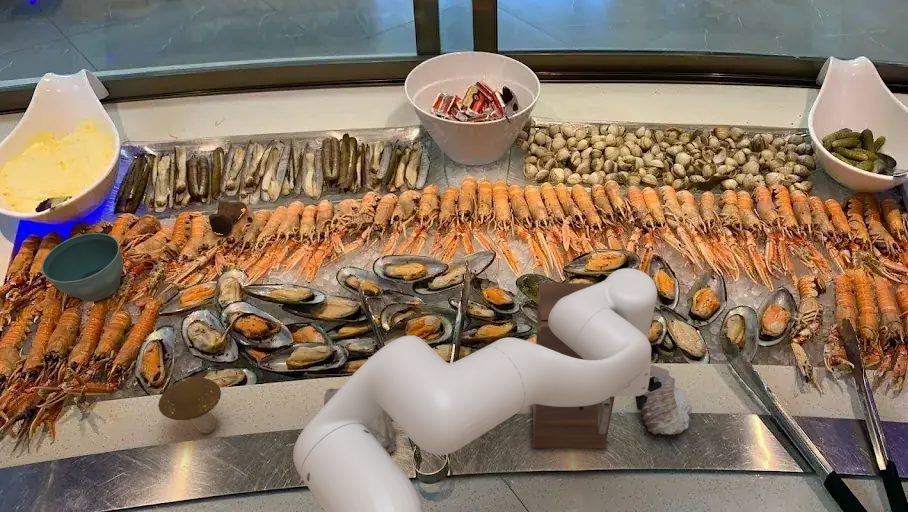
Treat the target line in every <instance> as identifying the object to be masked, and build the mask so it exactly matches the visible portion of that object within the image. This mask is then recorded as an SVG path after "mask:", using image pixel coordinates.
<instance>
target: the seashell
mask: <svg viewBox="0 0 908 512" xmlns="http://www.w3.org/2000/svg"><path fill="white" fill-rule="evenodd" d="M651 377H652V376H650V378H651ZM675 383H676V378H675V377H672V376H670V378H669V379H668V380H667V381H666V382H665V383H663V384H662V387H660V388H658V389H656V390H654V391H652V392H651V396H648V398H647V402H646V403H644V404H643V408H642V410H640V413H641V414H642V415H643V416H642V419H643V420H644V425H645V426H646V427H647V431H648V432H651V433H652V434H653V435H657V434H661V435H676V434H678V435H679V434H681V433H683V431H685V430H687V429H689V424H690V423H689V422H690V420H691V418H690V415H691V413H692V412H691V411H692V410H693V406H692V404H691V401H690V400H689V398H688V397H687V396H686V395H685V392H684V391H683V389H681V388H679V387H676V385H675Z"/></svg>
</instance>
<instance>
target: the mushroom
mask: <svg viewBox="0 0 908 512" xmlns="http://www.w3.org/2000/svg"><path fill="white" fill-rule="evenodd" d="M221 396H222V390H221V387H220V385H219V384H217V382H215V381H213V380H212V379H211V378H206V377H197V376H187V377H184V378H182V379H181V380H179V381H178V382H175V383H173V384H172V385H171V386H169V387H168V388H167V389H166V390H165V391H164V392H163V393H162V394H161V396H160V398H159V400H158V404H157V405H158V406H157V407H158V410H159V412H160V414H162V415H163V417H166V418H168V419H170V420H175V421H189V420H192V422H193V424H194V426H195V428H196V429H197V431H199V432H200V433H202V434H210V433H211V432H213V431H214V430H215V429H216V427H217V418H216V416H215V415H214V414H213V413H211V411H212V410H213V409H215V407H216V406H217V405H218V403H219V402H220V400H221V398H222V397H221Z"/></svg>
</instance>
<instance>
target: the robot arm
mask: <svg viewBox="0 0 908 512" xmlns="http://www.w3.org/2000/svg"><path fill="white" fill-rule="evenodd" d="M597 283H598V284H595V285H593V286H590V287H587V288H584V289H582V290H579V291H576V292H574V293H572V294H570V295H568V296H565V297H563V298H561V299H560V300H559V301H558V302H557V303H556V304H555V306H554V307H553V308H552V310H551V312H550V314H549V318H548V324H549V327H550V329H551V331H552V332H553V334H554V335H555V336H556V337H558V338H559V339H560V340H561V341H562V342H564V343H565V344H566V345H567V346H568V347H570V348H571V349H572V350H573V351H574V352H576V353H577V354H578V355H579V356H581V357H582V358H583V359H584V360H583V359H577V358H573V357H569V356H566V355H563V354H561V353H558V352H556V351H553V350H551V349H548V348H546V347H543V346H541V345H538V344H536V342H533V341H532V342H531V341H529V340H525V339H522V338H517V337H502V338H500V339H496V340H495V341H494V342H492V343H489V344H488V345H485V346H484V347H482V348H480V349H477V350H476V351H474V352H471V353H470V354H468V355H465V356H464V357H462V358H460V359H458V360H456V361H453V362H447V361H446V360H445V359H443V358H442V357H441V355H439V354H438V353H437V352H436V351H435V350H434V349H433V348H432V347H431V346H430V345H429V344H428V343H427V342H426V341H425V340H424V339H423V338H421V337H419V336H417V335H411V334H409V335H403V336H400V337H397V338H395V339H393V340H392V341H390V342H388V343H387V344H385V345H384V346H382V347H381V348H380V349H378V350H377V351H376V352H374V353H373V354H372V355H371V356H370V357H369V358H368V359H366V361H365V362H364V363H362V365H361V366H360V367H359V368H358V369H357V370H355V372H354V373H352V375H351V376H350V377H349V378H348V379H347V380H346V381H345V382H344V383H343V384H342V386H340V387H339V388H340V389H339V388H338V389H339V390H338V391H337V392H336V394H335V395H334V396H333V397H332V398H331V399H330V400H329V401H328V402H327V403H326V404H325V405H324V404H323V406H322V408H321V409H320V410H319V411H318V412H317V413H316V414H315V415H314V416H313V417H312V418H311V419H310V421H309V422H307V425H305V426H304V428H303V429H302V431H301V432H300V434H299V435H298V437H297V439H296V442H295V444H294V446H293V451H292V459H293V464H294V467H295V469H296V472H297V473H298V475H299V477H300V478H301V480H302V481H303V482H304V484H305V485H306V487H307V488H308V489H309V490H310V492H311V493H312V495H313V496H314V498H315V499H316V500H317V502H318V503H319V505H320V507H322V509H323V511H324V512H423V506H422V502H421V499H420V496H419V494H418V493H419V492H418V491H417V490H416V488H415V486H414V484H413V482H412V481H411V479H410V478H409V477H408V475H407V474H406V472H405V471H404V470H403V469H402V468H401V467H400V466H399V464H398V463H397V462H396V461H395V459H394V458H393V457H392V456H391V454H390V453H389V454H388V452H387V451H386V450H385V449H384V448H383V446H382V445H381V444H380V443H379V442H378V441H377V439H376V438H375V437H374V436H373V435H372V433H371V432H370V431H369V430H368V428H369V427H370V425H371V424H372V423H373V422H374V421H375V420H376V419H377V417H378V416H379V415H380V414H381V413H382V411H383V410H385V411H386V412H387V414H388V415H389V417H390V419H391V420H392V421H393V422H394V423H395V425H397V426H398V428H399V429H400V430H401V431H402V432H403V433H404V434H405V435H406V436H407V438H408V439H410V441H411V442H413V443H414V444H415V445H416V446H417V447H419V448H420V449H422V450H423V451H425V452H427V453H428V454H431V455H434V456H445V455H450V454H452V453H454V452H456V451H458V450H460V449H461V448H464V447H465V446H466V445H468V444H470V443H472V442H473V441H475V440H476V439H478V438H480V437H481V436H483V435H485V434H486V433H488V432H489V431H491V430H492V429H494V428H495V427H498V426H500V425H501V424H502V423H504V422H505V421H507V420H508V419H510V418H511V417H513V416H515V415H516V414H518V413H520V412H521V411H523V410H525V409H526V408H528V407H530V406H532V405H533V404H539V405H546V406H556V407H578V406H579V410H584V406H589V405H594V404H597V403H600V402H602V401H604V400H606V399H608V398H609V397H611V396H615V397H635V403H636V410H638V411H641V410H642V408H643V404H644V403H646V402H647V398H648V396H651V392H652V391H654V390H656V389H658V388H660V387H662V384H663V383H665V382H666V381H667V380H668V379H669V378H670V377H671V376H670V371H669V370H668V369H666V368H662V367H660V366H656V365H654V364H652V345H651V342H650V341H649V335H650V330H651V325H652V321H653V316H654V312H655V308H656V303H657V299H658V288H657V285H656V283H655V281H654V280H653V278H651V276H649V274H647V273H646V272H644V271H642V270H639V269H637V268H632V267H631V268H630V267H626V268H619V269H617V270H614V271H613V272H611V273H610V274H609V275H607V277H606V278H605V279H604V280H602V281H600V282H597ZM650 376H651V378H650Z"/></svg>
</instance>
